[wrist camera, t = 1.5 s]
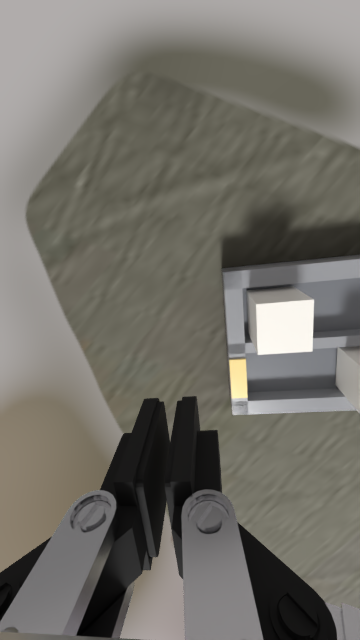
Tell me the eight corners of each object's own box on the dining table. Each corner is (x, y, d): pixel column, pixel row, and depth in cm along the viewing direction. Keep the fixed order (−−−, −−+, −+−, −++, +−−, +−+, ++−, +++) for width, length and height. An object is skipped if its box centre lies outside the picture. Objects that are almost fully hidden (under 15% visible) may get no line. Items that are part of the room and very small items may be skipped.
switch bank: (391, 392, 28) (411, 409, 25) (230, 399, 30) (232, 416, 27) (408, 249, 24) (435, 251, 21) (221, 268, 26) (223, 272, 23)
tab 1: (292, 329, 26) (312, 351, 21) (248, 332, 26) (257, 354, 21) (293, 286, 24) (314, 299, 20) (246, 290, 25) (256, 304, 20)
